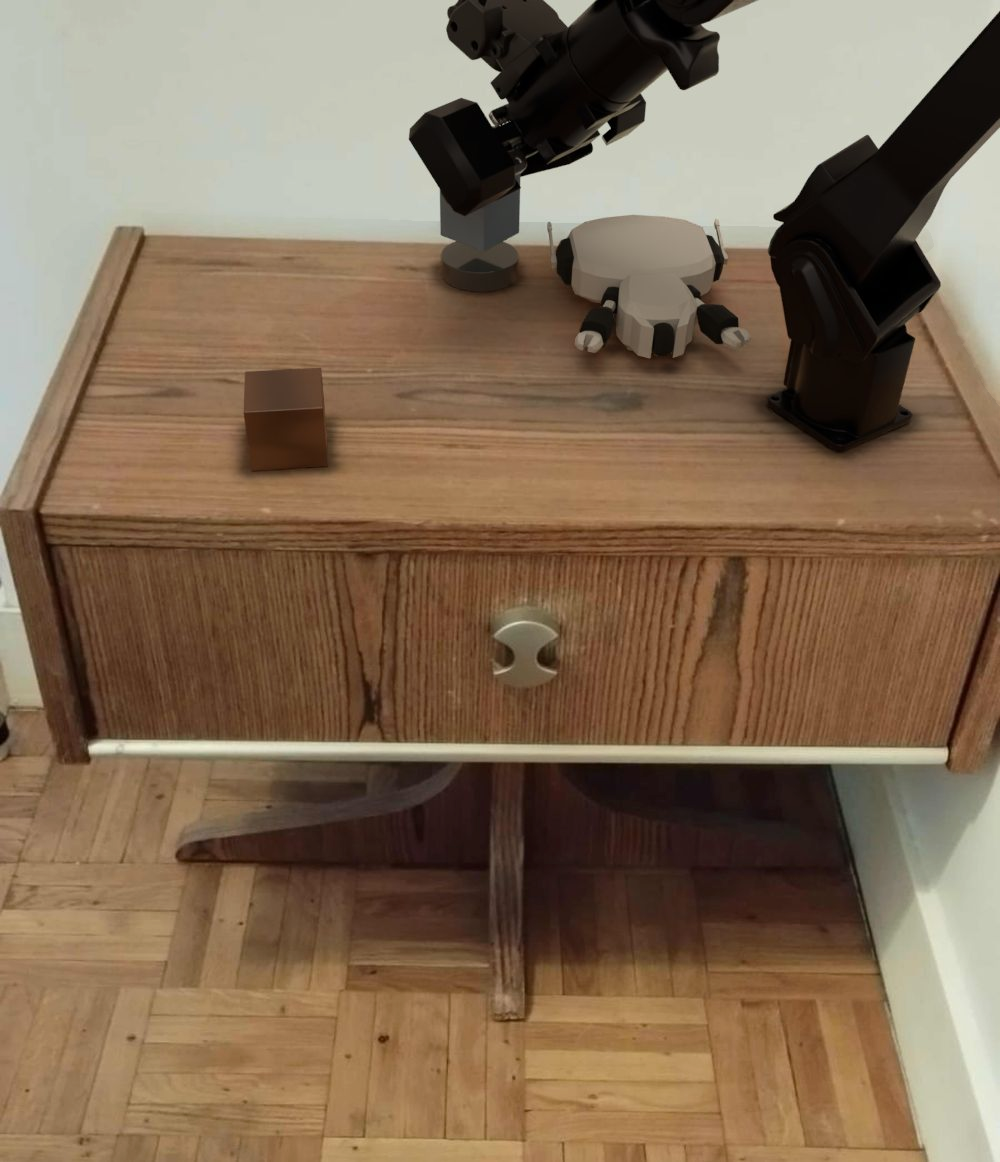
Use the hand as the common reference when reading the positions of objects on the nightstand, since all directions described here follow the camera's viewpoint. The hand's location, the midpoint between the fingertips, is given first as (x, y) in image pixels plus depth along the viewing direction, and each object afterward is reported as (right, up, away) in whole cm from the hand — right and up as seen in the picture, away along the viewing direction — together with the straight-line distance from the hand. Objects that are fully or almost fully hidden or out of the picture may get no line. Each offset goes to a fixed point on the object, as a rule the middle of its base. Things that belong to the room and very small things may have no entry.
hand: (465, 187), depth 90 cm
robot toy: (+12, -10, -1) cm, 16 cm away
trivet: (+1, -5, +3) cm, 6 cm away
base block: (-10, -20, -14) cm, 26 cm away
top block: (+1, -3, +1) cm, 3 cm away
